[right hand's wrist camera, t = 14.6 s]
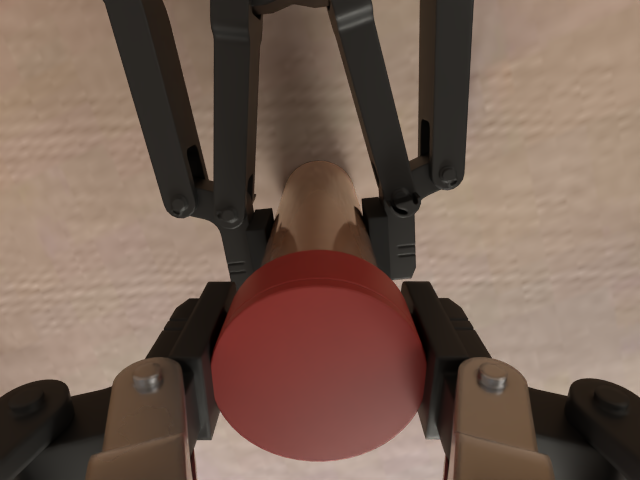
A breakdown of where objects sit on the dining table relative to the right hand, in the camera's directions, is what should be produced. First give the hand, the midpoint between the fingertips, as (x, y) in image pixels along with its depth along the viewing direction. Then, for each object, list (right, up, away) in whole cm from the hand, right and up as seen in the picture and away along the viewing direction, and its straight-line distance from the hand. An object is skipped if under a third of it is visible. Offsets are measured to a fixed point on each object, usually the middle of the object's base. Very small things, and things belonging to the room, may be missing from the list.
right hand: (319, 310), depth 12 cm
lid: (0, -1, -3) cm, 3 cm away
